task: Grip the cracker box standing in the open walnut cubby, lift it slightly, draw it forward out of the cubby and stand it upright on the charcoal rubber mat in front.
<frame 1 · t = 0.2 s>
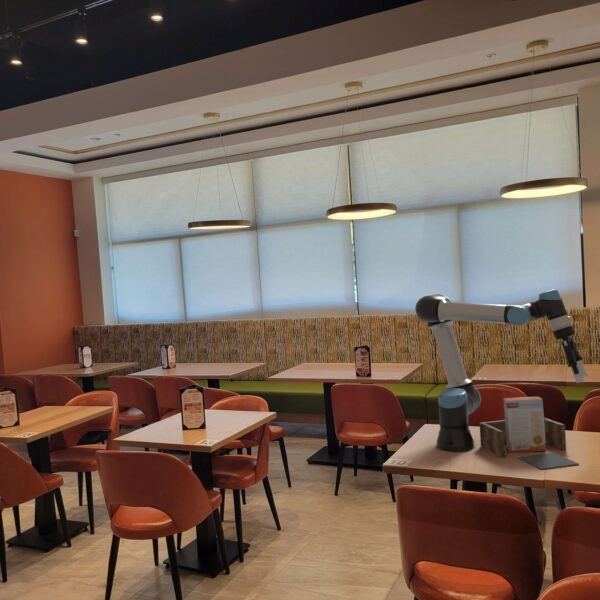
hand: (582, 379, 224), 28 cm above the table, tool tilted 15°, fingers open, 13 cm apart
cracker box: (525, 450, 230), on the table
mat: (547, 461, 214), on the table
cubby shelf: (525, 449, 230), on the table
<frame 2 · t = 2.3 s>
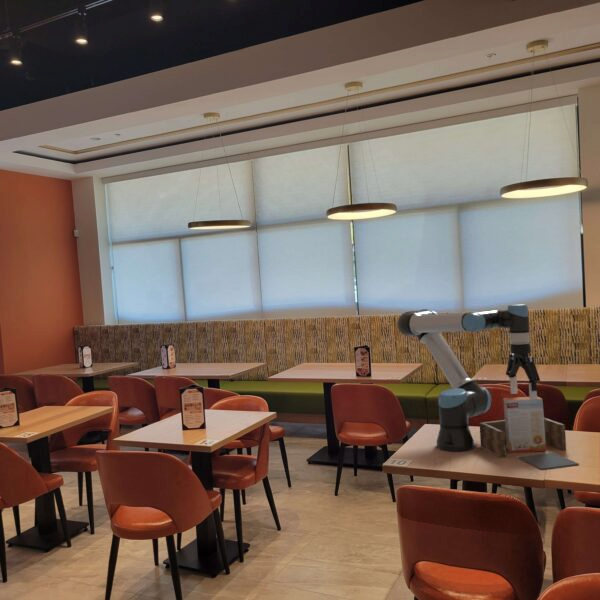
hand: (523, 396, 229), 22 cm above the table, tool pointing down, fingers open, 13 cm apart
nothing on the table moved.
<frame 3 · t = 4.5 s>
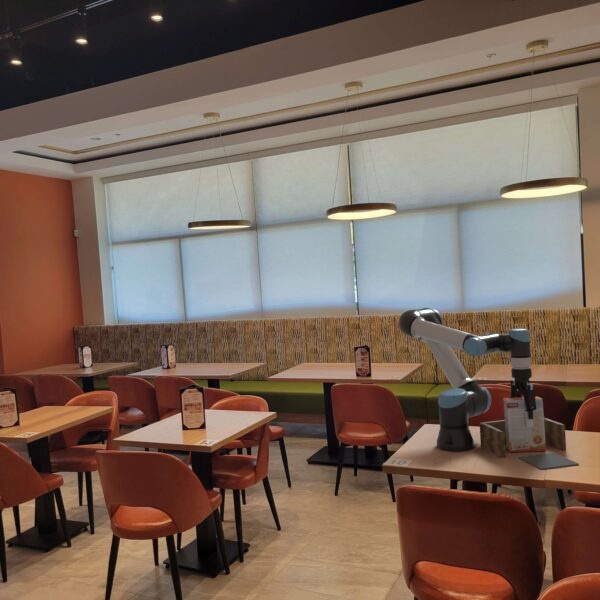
hand: (524, 424, 230), 10 cm above the table, tool pointing down, fingers closed on cracker box, 7 cm apart
cracker box: (525, 450, 230), on the table, touching gripper
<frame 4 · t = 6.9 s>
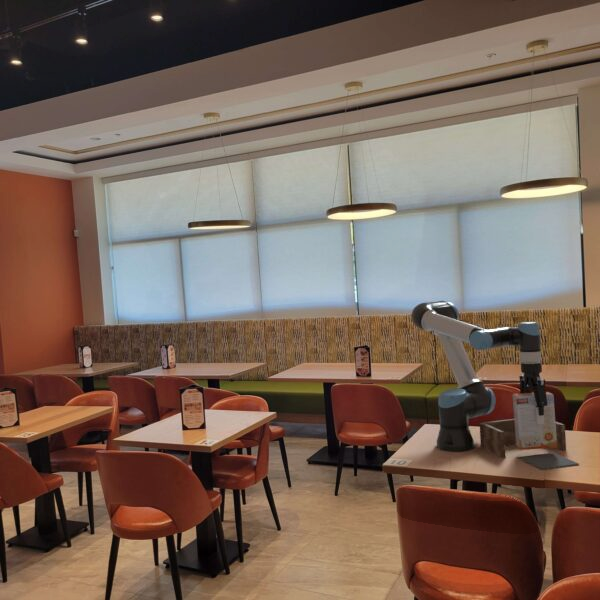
hand: (534, 421, 222), 13 cm above the table, tool pointing down, fingers closed on cracker box, 7 cm apart
cracker box: (536, 447, 222), point 3 cm above the table, touching gripper
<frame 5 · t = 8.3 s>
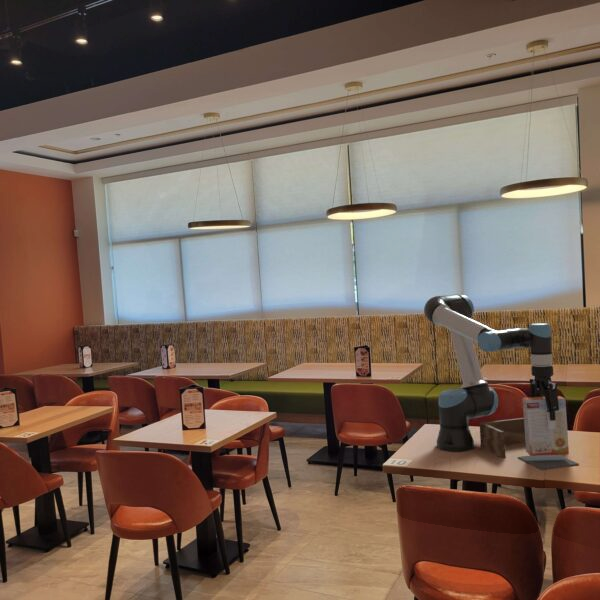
hand: (545, 426, 214), 13 cm above the table, tool pointing down, fingers closed on cracker box, 7 cm apart
cracker box: (546, 453, 214), point 3 cm above the table, touching gripper
when the fingers open (12 cm above the table, at t = 9.5 s): cracker box drops 1 cm, resting on mat.
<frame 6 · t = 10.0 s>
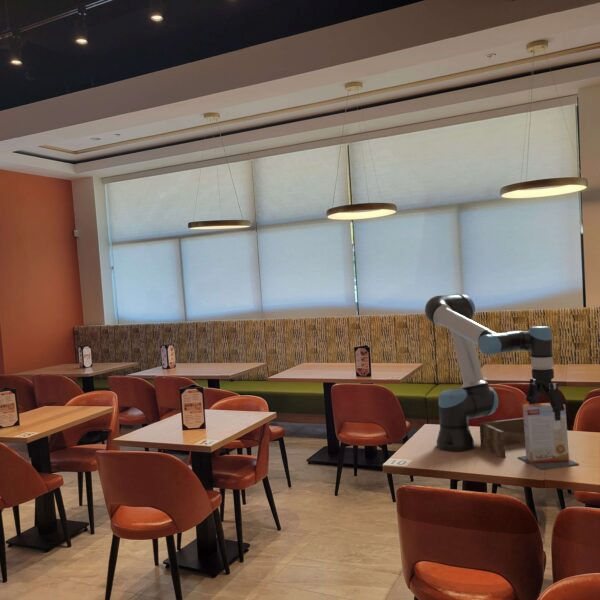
hand: (545, 425, 214), 14 cm above the table, tool pointing down, fingers open, 13 cm apart
cracker box: (547, 460, 214), resting on mat
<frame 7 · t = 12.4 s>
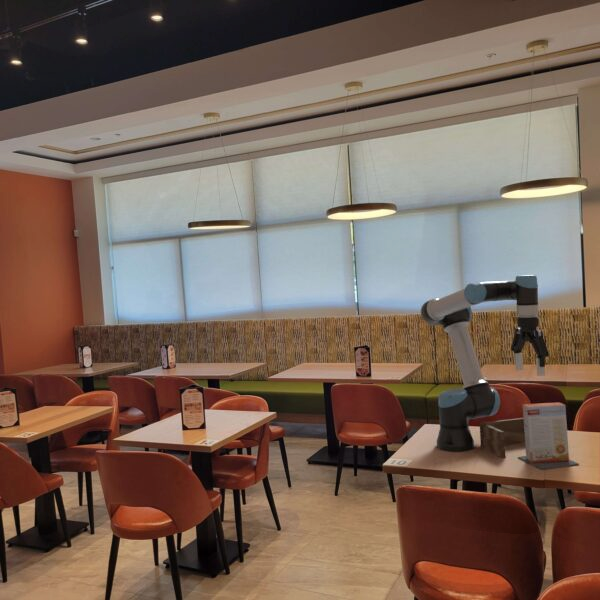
hand: (529, 372, 216), 33 cm above the table, tool pointing down, fingers open, 13 cm apart
nothing on the table moved.
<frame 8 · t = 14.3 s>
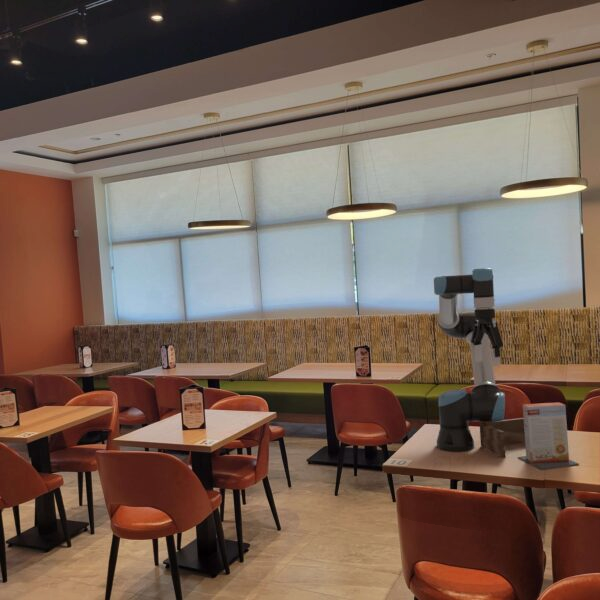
hand: (487, 363, 221), 37 cm above the table, tool pointing down, fingers open, 13 cm apart
nothing on the table moved.
at the end: cracker box inside the target area on the mat (0.3 cm from its centre), point 0.3 cm above the mat's base; cracker box tilted 0°; the gripper is holding nothing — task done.
